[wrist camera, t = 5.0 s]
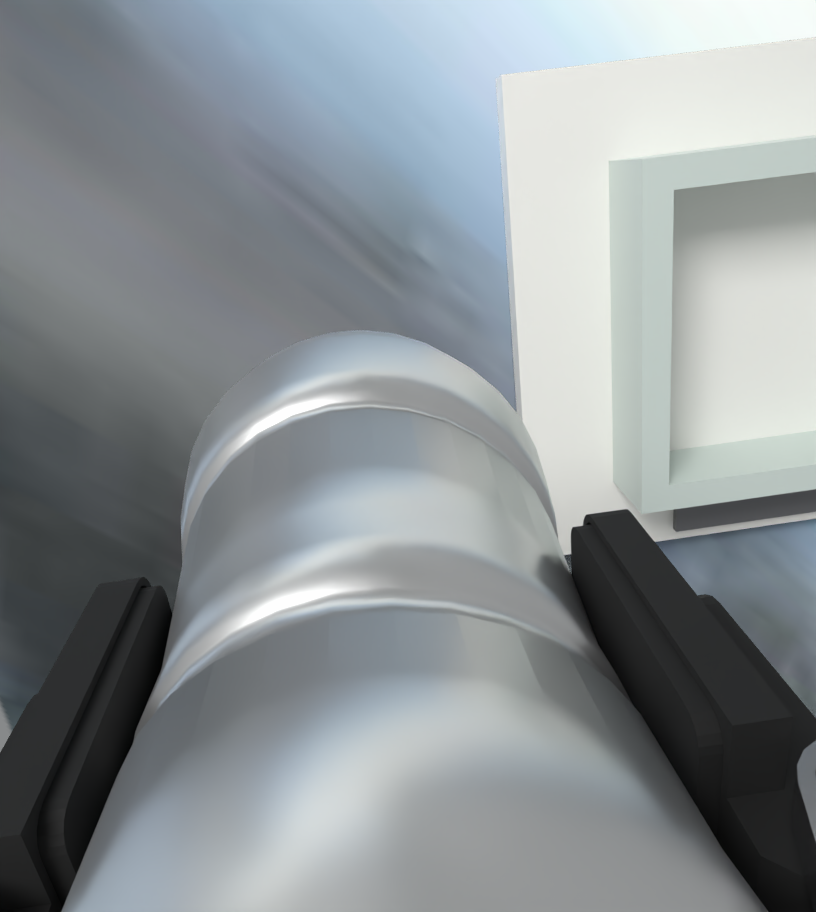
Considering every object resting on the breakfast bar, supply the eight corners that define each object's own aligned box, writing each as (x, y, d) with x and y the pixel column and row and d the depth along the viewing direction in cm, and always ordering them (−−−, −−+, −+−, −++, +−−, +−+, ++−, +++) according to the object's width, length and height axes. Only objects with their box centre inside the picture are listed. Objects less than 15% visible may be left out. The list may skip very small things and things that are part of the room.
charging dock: (495, 78, 25) (522, 61, 21) (1008, 16, 25) (1122, -10, 22) (525, 548, 31) (550, 598, 28) (932, 489, 32) (1010, 531, 28)
